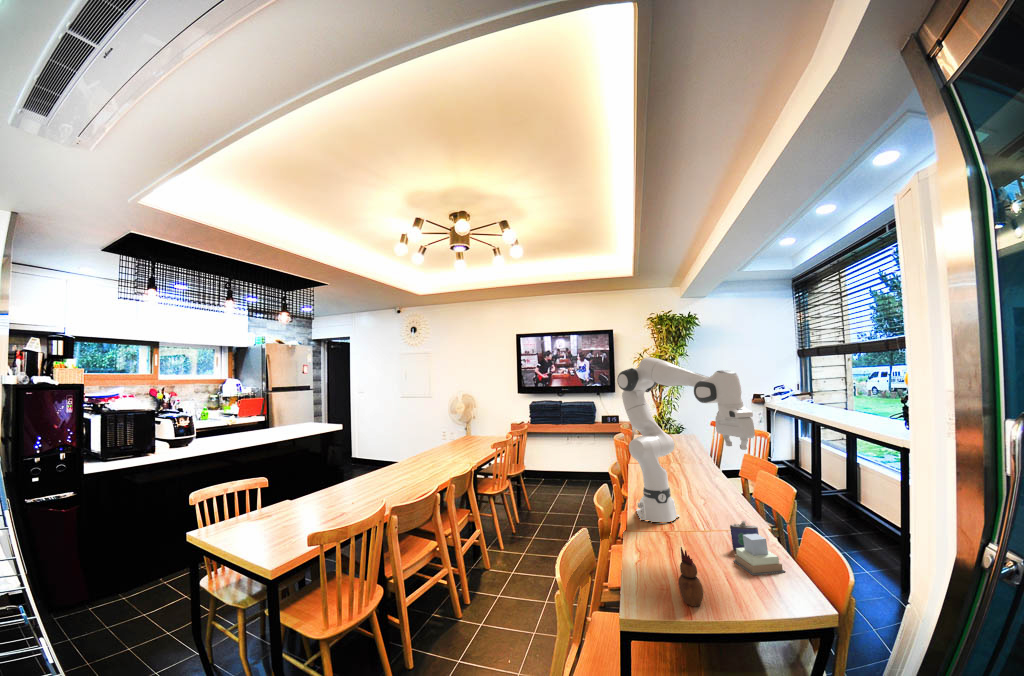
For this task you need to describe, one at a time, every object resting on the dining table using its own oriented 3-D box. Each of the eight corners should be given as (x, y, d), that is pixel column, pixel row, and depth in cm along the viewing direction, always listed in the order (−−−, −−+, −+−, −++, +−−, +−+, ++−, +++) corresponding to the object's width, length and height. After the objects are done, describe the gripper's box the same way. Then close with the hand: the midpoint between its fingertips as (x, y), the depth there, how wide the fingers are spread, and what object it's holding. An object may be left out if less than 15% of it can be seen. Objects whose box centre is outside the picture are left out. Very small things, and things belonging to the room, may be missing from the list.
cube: (744, 549, 140) (742, 534, 140) (758, 548, 140) (756, 533, 141) (753, 555, 135) (751, 540, 136) (768, 554, 135) (766, 538, 136)
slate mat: (733, 561, 142) (733, 559, 142) (763, 558, 143) (763, 557, 143) (753, 575, 131) (752, 574, 131) (785, 572, 132) (785, 571, 132)
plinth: (735, 560, 142) (733, 547, 142) (762, 557, 142) (761, 545, 143) (753, 573, 132) (751, 559, 132) (782, 570, 132) (780, 556, 133)
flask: (760, 550, 149) (756, 520, 150) (762, 553, 146) (757, 523, 148) (732, 548, 152) (728, 519, 154) (733, 551, 150) (729, 521, 151)
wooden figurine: (677, 598, 121) (671, 545, 122) (695, 596, 121) (689, 543, 123) (688, 610, 114) (682, 554, 116) (708, 608, 114) (701, 552, 116)
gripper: (709, 410, 168) (713, 444, 166) (738, 413, 147) (744, 452, 145) (724, 409, 168) (728, 443, 166) (755, 412, 148) (761, 451, 146)
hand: (736, 447), depth 156 cm, fingers open, 8 cm apart
